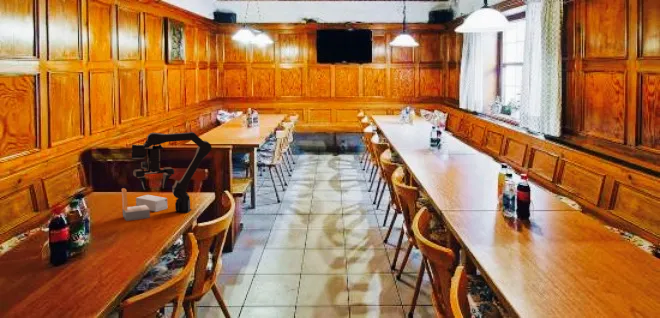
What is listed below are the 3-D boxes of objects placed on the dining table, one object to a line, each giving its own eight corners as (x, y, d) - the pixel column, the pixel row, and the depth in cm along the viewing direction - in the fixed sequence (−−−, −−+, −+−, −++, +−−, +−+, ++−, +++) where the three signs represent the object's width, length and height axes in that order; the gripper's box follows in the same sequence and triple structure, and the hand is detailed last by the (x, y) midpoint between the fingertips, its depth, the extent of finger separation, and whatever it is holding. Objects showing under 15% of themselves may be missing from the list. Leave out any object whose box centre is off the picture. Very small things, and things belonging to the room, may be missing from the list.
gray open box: (146, 213, 250) (146, 206, 250) (149, 217, 244) (149, 209, 243) (123, 216, 244) (122, 209, 244) (126, 220, 238) (125, 212, 237)
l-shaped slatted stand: (145, 206, 249) (144, 185, 248) (149, 209, 243) (148, 188, 241) (122, 208, 244) (120, 187, 242) (125, 212, 237) (123, 191, 235)
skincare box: (135, 207, 261) (155, 212, 254) (135, 196, 260) (154, 201, 252) (149, 204, 268) (168, 209, 261) (148, 193, 267) (167, 198, 260)
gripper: (167, 154, 258) (167, 184, 261) (129, 156, 248) (130, 187, 250) (174, 158, 249) (174, 188, 252) (135, 160, 239) (136, 192, 241)
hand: (154, 188), depth 249 cm, fingers open, 9 cm apart
